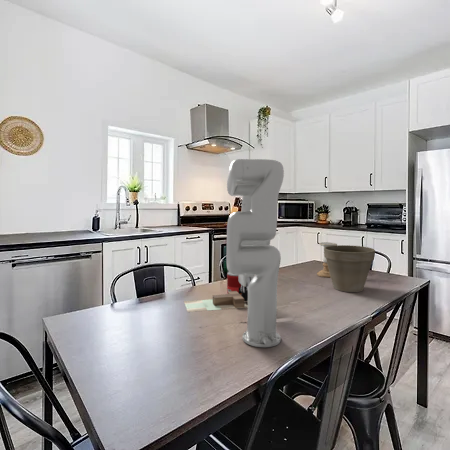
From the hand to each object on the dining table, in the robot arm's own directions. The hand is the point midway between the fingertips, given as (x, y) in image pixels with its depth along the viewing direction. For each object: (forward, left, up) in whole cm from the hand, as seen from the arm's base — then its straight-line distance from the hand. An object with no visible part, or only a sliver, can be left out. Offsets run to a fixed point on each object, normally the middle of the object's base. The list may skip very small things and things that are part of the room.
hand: (245, 300), depth 140 cm
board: (0, +13, -2) cm, 14 cm away
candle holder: (+42, -67, -2) cm, 79 cm away
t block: (0, +8, -1) cm, 8 cm away
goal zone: (0, +19, -2) cm, 19 cm away
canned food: (+15, 0, -2) cm, 15 cm away
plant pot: (+13, -61, -2) cm, 62 cm away
